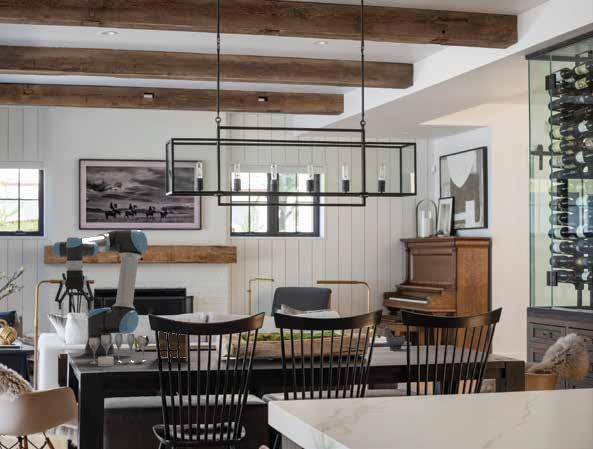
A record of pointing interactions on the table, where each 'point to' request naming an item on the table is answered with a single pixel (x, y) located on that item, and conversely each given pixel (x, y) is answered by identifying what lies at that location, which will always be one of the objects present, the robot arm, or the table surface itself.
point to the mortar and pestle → (394, 340)
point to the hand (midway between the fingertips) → (74, 316)
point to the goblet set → (118, 343)
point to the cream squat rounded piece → (106, 361)
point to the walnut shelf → (174, 343)
